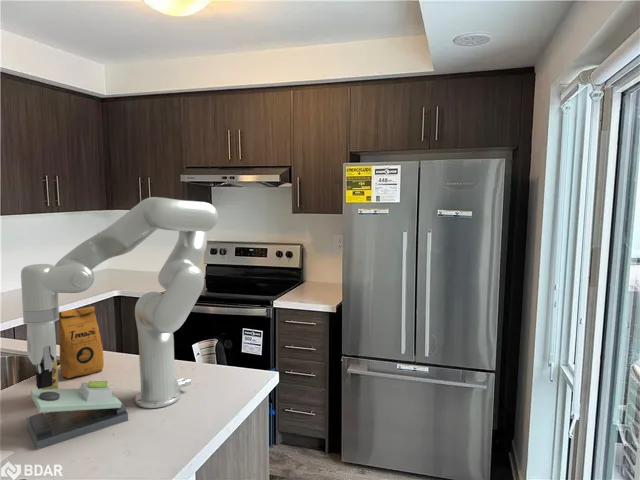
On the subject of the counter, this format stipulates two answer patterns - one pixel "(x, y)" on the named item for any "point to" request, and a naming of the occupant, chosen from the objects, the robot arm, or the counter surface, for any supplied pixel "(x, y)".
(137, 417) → the counter surface
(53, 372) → the candy box
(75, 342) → the coffee package
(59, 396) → the levelling plate
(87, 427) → the base
